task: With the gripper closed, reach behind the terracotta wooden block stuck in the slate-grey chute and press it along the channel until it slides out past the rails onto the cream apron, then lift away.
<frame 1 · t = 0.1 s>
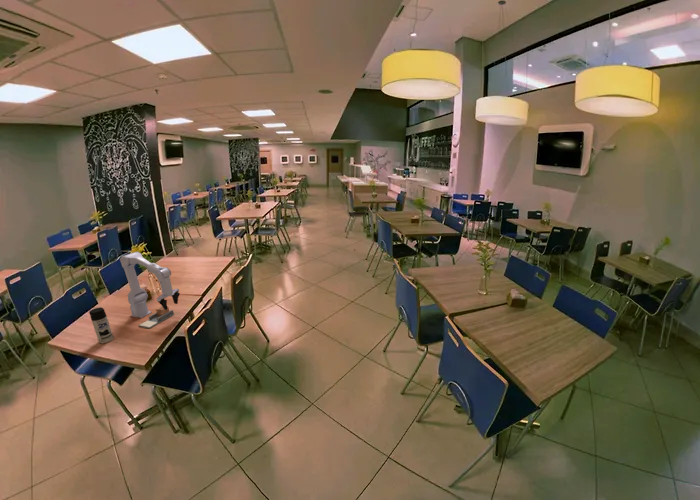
hand: (170, 306, 185), 10 cm above the table, fingers open, 7 cm apart
chute: (157, 320, 188), on the table
block: (162, 311, 191), point 4 cm above the table, slide at 0.0 cm
spray can: (106, 340, 168), on the table
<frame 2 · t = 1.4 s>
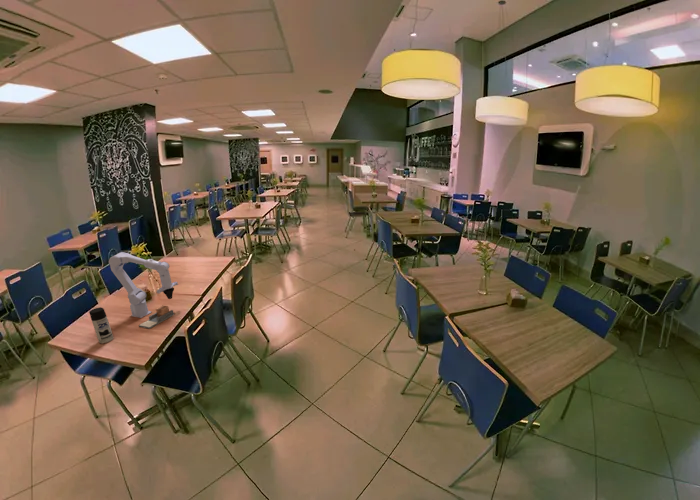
hand: (170, 298, 196), 10 cm above the table, fingers closed
nothing on the table moved.
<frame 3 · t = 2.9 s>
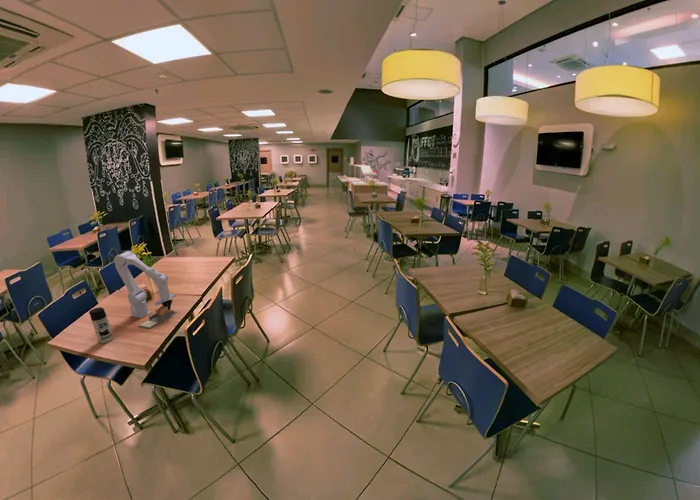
hand: (168, 310, 195), 2 cm above the table, fingers closed
block: (162, 311, 191), point 4 cm above the table, slide at 0.4 cm, touching gripper
everything else where it was.
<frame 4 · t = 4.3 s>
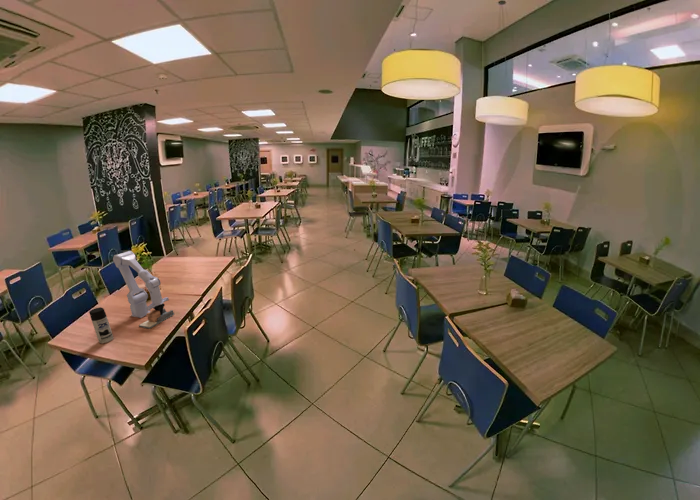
hand: (160, 314, 190), 2 cm above the table, fingers closed
block: (154, 316, 185), point 4 cm above the table, slide at 6.4 cm, touching gripper
everything else where it was.
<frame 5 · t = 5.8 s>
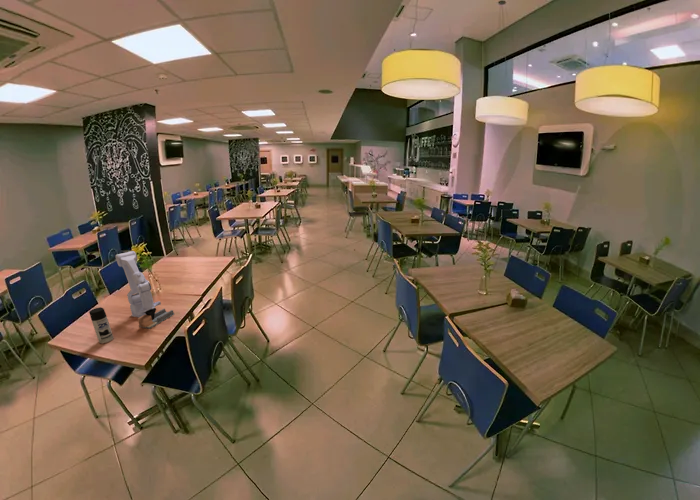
hand: (152, 319, 184), 2 cm above the table, fingers closed
block: (145, 320, 180), point 4 cm above the table, slide at 12.3 cm, touching gripper
everything else where it was.
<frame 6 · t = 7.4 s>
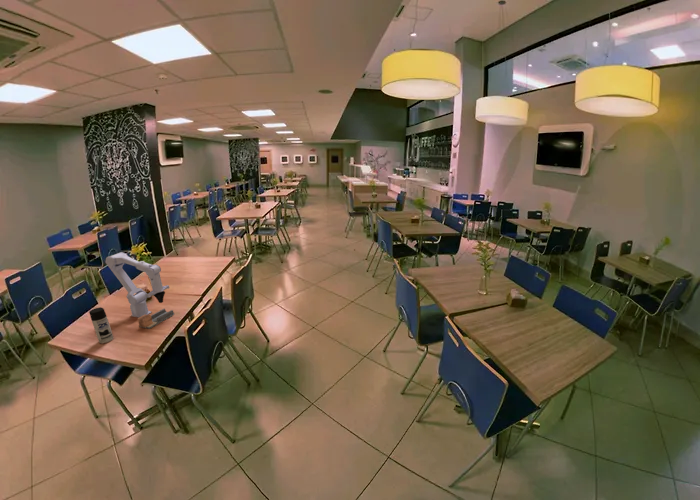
hand: (161, 302, 191), 10 cm above the table, fingers closed
block: (145, 320, 180), point 4 cm above the table, slide at 12.3 cm
everything else where it was.
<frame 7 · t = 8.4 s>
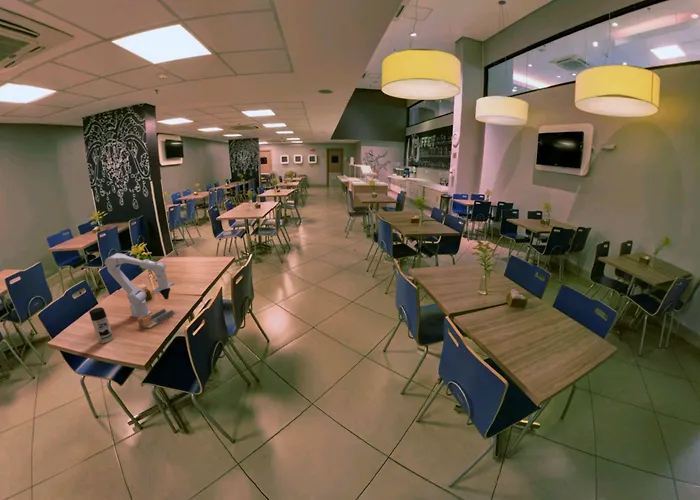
hand: (166, 298, 195), 10 cm above the table, fingers closed
nothing on the table moved.
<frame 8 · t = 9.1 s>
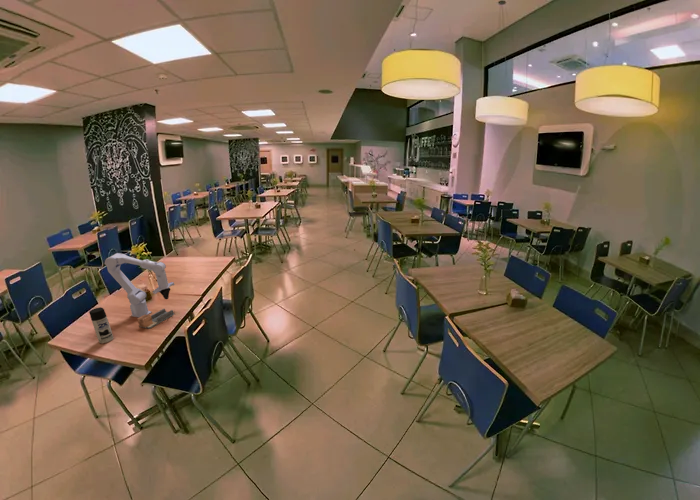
hand: (166, 298, 195), 10 cm above the table, fingers closed
nothing on the table moved.
at the end: block slide at 12.3 cm; block inside the target area (0.6 cm from its centre), resting on chute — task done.
